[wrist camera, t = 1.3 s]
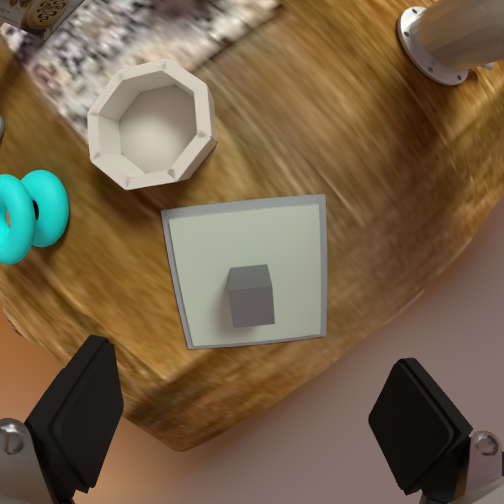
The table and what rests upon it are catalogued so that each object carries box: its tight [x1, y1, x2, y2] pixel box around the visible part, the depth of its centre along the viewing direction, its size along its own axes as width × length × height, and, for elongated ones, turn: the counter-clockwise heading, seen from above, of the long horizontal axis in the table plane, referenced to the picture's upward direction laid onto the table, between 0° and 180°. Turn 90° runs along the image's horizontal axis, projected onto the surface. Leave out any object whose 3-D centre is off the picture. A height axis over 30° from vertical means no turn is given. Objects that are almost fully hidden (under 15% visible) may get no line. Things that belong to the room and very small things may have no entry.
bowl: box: [87, 59, 218, 190], centre depth 25 cm, size 12×12×6 cm
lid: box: [169, 204, 321, 346], centre depth 29 cm, size 16×16×7 cm
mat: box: [161, 194, 327, 349], centre depth 33 cm, size 18×18×1 cm
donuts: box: [0, 170, 69, 265], centre depth 25 cm, size 10×10×10 cm
